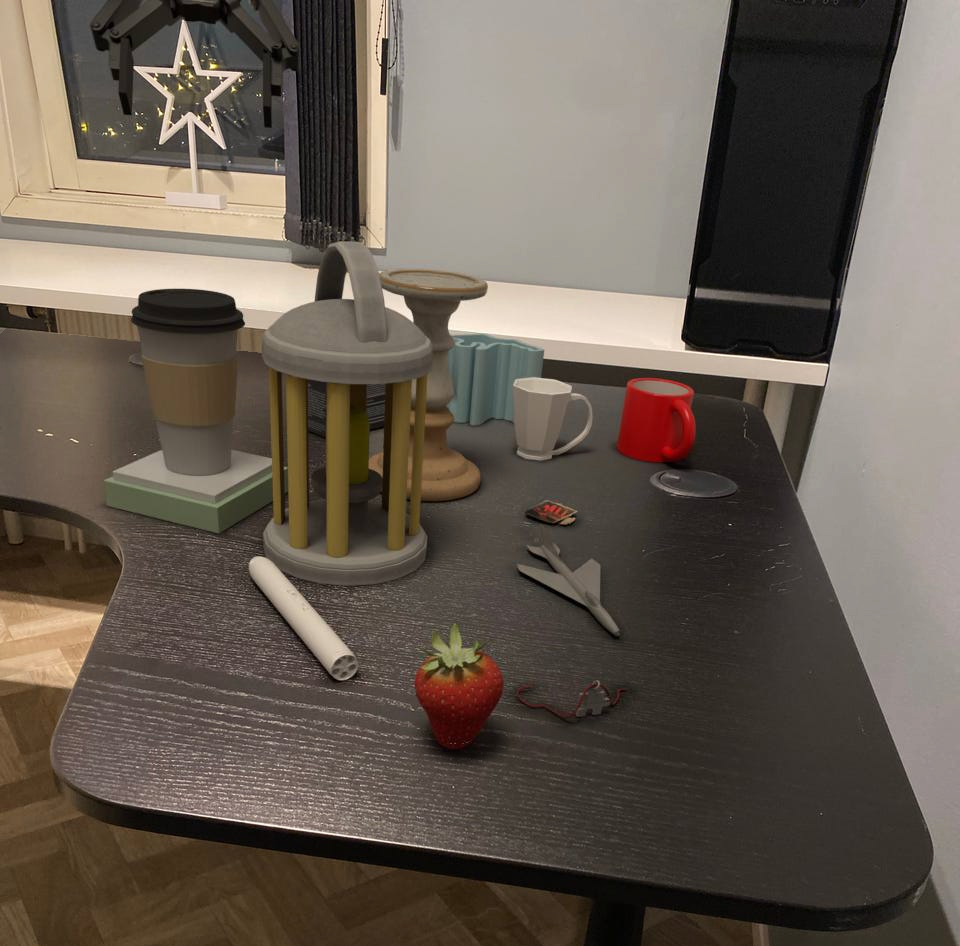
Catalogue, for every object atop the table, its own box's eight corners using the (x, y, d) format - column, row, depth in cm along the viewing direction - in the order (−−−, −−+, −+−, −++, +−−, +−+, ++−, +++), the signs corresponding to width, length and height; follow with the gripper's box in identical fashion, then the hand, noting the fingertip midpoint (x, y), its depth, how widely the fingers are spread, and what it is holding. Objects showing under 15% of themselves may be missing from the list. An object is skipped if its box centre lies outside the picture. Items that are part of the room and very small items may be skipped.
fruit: (413, 717, 59) (419, 609, 55) (495, 722, 59) (507, 615, 55) (409, 766, 55) (415, 653, 51) (498, 771, 55) (511, 659, 51)
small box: (361, 411, 115) (362, 325, 110) (396, 425, 112) (400, 337, 106) (294, 425, 108) (292, 334, 103) (330, 440, 104) (330, 347, 99)
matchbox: (521, 516, 89) (522, 512, 89) (541, 501, 93) (541, 496, 93) (566, 528, 88) (566, 524, 88) (583, 511, 92) (584, 507, 92)
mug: (658, 476, 103) (672, 408, 99) (604, 442, 113) (615, 378, 109) (714, 472, 106) (730, 405, 102) (657, 439, 116) (669, 376, 112)
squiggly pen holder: (503, 403, 124) (509, 332, 119) (538, 425, 116) (547, 350, 112) (378, 409, 116) (380, 334, 112) (407, 434, 109) (411, 354, 104)
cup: (497, 444, 108) (504, 376, 104) (576, 444, 111) (585, 377, 107) (514, 464, 103) (522, 393, 99) (596, 464, 105) (607, 394, 101)
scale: (102, 505, 84) (98, 471, 82) (183, 466, 94) (180, 435, 92) (219, 534, 80) (216, 499, 79) (289, 491, 90) (288, 459, 89)
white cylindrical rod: (241, 573, 74) (239, 546, 73) (265, 568, 75) (264, 543, 74) (330, 684, 62) (330, 654, 60) (358, 677, 63) (359, 648, 61)
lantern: (453, 573, 78) (477, 259, 65) (290, 596, 72) (282, 256, 59) (391, 509, 88) (402, 230, 76) (245, 525, 82) (230, 224, 70)
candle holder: (394, 452, 103) (402, 261, 93) (496, 474, 99) (515, 279, 89) (341, 486, 93) (343, 276, 82) (453, 512, 89) (469, 296, 79)
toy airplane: (572, 645, 69) (576, 618, 68) (485, 532, 86) (487, 509, 85) (662, 636, 71) (667, 611, 70) (560, 528, 88) (563, 506, 87)
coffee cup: (150, 447, 88) (133, 284, 81) (250, 448, 90) (243, 289, 83) (141, 483, 80) (122, 306, 73) (252, 483, 83) (244, 311, 75)
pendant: (534, 728, 59) (539, 694, 58) (513, 691, 63) (517, 658, 61) (645, 716, 61) (653, 682, 60) (618, 680, 65) (625, 648, 64)
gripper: (320, -10, 101) (324, 150, 96) (82, -38, 97) (72, 128, 92) (321, -77, 94) (325, 92, 89) (64, -111, 90) (52, 65, 85)
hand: (197, 111), depth 90 cm, fingers open, 13 cm apart
